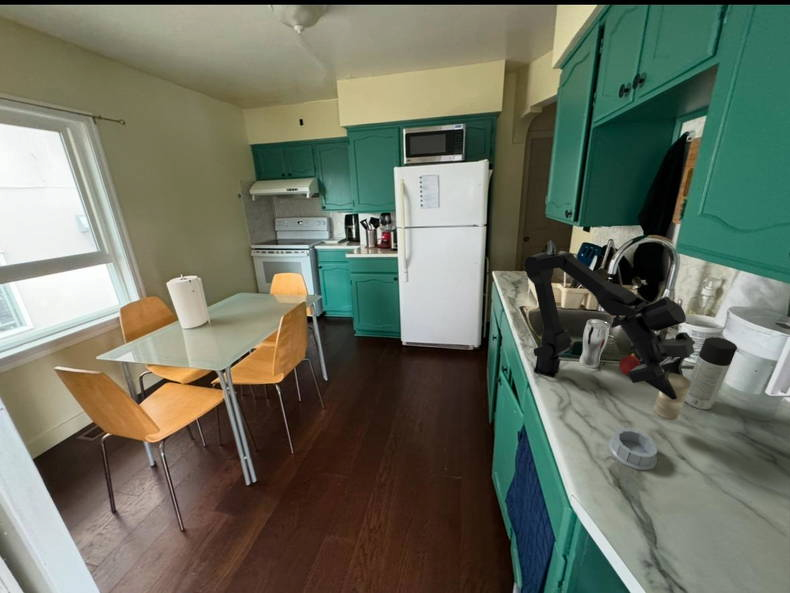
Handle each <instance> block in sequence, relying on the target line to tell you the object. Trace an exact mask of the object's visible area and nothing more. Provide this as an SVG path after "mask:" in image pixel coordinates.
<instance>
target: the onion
mask: <svg viewBox="0 0 790 593" xmlns="http://www.w3.org/2000/svg"><path fill="white" fill-rule="evenodd" d="M639 361H640V359H638V358H637V356H636V354H635V353H631V354H630V355H626V356H624V357H622V358H621V359H620V360H619V363H618V367H619V370H620V371H621V373H622V374H624V375H625V376H626V377H629V376H628V375H629V372H630V371H631V370H632V369H634V368H635V367H636V366H640V365H641V364H640V363H639Z"/></svg>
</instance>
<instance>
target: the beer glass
mask: <svg viewBox="0 0 790 593" xmlns="http://www.w3.org/2000/svg"><path fill="white" fill-rule="evenodd" d="M610 328H611V325H610V323H608V322H607V321H605V320H602V319H597V318H596V319H595V318H591V319H588V320H587V321H586V324H585V327H584V330H583V335H582V353H581V355H580V357H579V363H580V364H581V365H582V366H584V367H585V368H589V369H591V368H592V369H596V368H598V367H600V363H601V360H600V358H601V355H602V352H603V351H604V350H605V349H604V348H605V347H606V345H607V343H608V338H609V335H610Z"/></svg>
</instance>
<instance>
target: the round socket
mask: <svg viewBox="0 0 790 593" xmlns="http://www.w3.org/2000/svg"><path fill="white" fill-rule="evenodd" d="M607 446H608V450H609V452H610V454H611V455H612V457H614V459H616V461H618V462H619V463H621V464H622V465H624V466H627V467H629V468H631V469H634V470H637V471H650V470H652V469H654V468H655V467H656V466H657V462H658V457H657V454H658V446H657V444H656V443H655V441H654V440H653V439H652V437H650V436H649V435H647V434H645V433H644V432H642V431H640V430H637V429H633V428H630V427H627V428H626V427H625V428H622V427H621V428H618V429H617V430H616V431H615V432H614V434H613V436H612V437H611V438H610V439H609V440H608V445H607Z"/></svg>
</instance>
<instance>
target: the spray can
mask: <svg viewBox="0 0 790 593" xmlns="http://www.w3.org/2000/svg"><path fill="white" fill-rule="evenodd" d="M737 349H738V346H737V345H736V343H734V342H732V341H730V340H728V339H726V338H723V337H718V336H716V337H713V336H711V337H706V338H704V340H703V343H702V346H701V348H700V350H699V353H698V356H697V358H696V360H695V363H694V366H693V369H692V371H691V373H690V374H691V375H690V376H689V378H688V379H689V380H690V382H691V385H690V387H689V390H688V392H687V395H686V397H685V400H684V403H686V404H688V405H689V406H691V407H693V408H696V409H699V410H709V409H711V408H712V407H713V405H714V403H715V402H716V399H717V396H718V394H719V392H720V390H721V387H722V385H723V382H724V381H725V379H726V375H727V373H728V372H729V369H730V367H731V364H732V361H733V359H734V356H735V354H736V352H737Z"/></svg>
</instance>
